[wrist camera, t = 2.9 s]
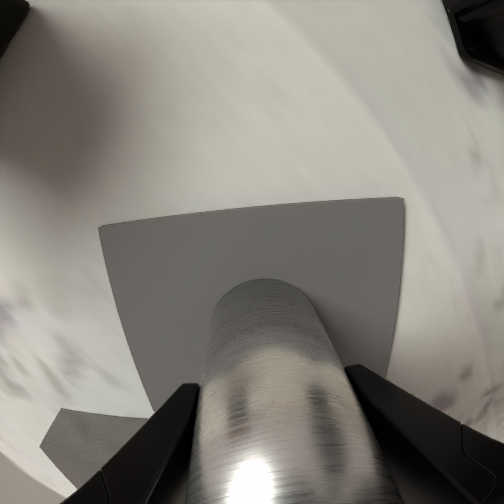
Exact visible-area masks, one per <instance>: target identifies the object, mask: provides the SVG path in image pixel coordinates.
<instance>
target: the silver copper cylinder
mask: <svg viewBox="0 0 504 504" xmlns="http://www.w3.org/2000/svg"><path fill="white" fill-rule="evenodd" d="M185 504H405V503H404V501H403V499H402V496H401V494H400V492H399V489H398V487H397V484H396V482H395V480H394V477H393V475H392V473H391V471H390V468H389V466H388V464H387V461H386V459H385V457H384V455H383V452H382V450H381V448H380V446H379V443H378V441H377V439H376V437H375V435H374V432H373V430H372V428H371V426H370V424H369V421H368V419H367V417H366V415H365V413H364V410H363V408H362V406H361V404H360V402H359V400H358V398H357V395H356V393H355V391H354V389H353V387H352V385H351V383H350V381H349V379H348V376H347V374H346V372H345V370H344V368H343V366H342V364H341V362H340V360H339V358H338V356H337V354H336V352H335V350H334V348H333V345H332V343H331V341H330V339H329V337H328V335H327V333H326V331H325V329H324V327H323V325H322V323H321V321H320V319H319V317H318V315H317V313H316V311H315V309H314V307H313V305H312V303H311V302H310V300H309V298H308V297H307V296H306V295H305V294H304V293H303V292H302V291H301V290H300V289H299V288H297V287H296V286H294V285H292V284H290V283H288V282H285V281H282V280H277V279H269V278H262V279H254V280H250V281H246V282H243V283H241V284H239V285H237V286H235V287H233V288H232V289H230V290H229V291H228V292H226V293H225V294H224V295H223V296H222V297H221V298H220V300H219V301H218V302H217V304H216V306H215V308H214V310H213V312H212V316H211V320H210V326H209V333H208V339H207V345H206V351H205V358H204V364H203V371H202V377H201V384H200V391H199V398H198V405H197V412H196V419H195V426H194V434H193V441H192V449H191V457H190V465H189V473H188V481H187V490H186V499H185Z"/></svg>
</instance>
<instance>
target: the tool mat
mask: <svg viewBox="0 0 504 504" xmlns="http://www.w3.org/2000/svg"><path fill="white" fill-rule="evenodd" d="M98 230H99V235H100V240H101V245H102V250H103V255H104V259H105V264H106V268H107V272H108V276H109V281H110V285H111V288H112V292H113V296H114V300H115V303H116V307H117V310H118V314H119V317H120V320H121V324H122V327H123V330H124V333H125V336H126V340H127V343H128V346H129V348H130V351H131V354H132V357H133V360H134V363H135V366H136V368H137V371H138V374H139V376H140V379H141V381H142V384H143V387H144V389H145V392H146V394H147V396H148V399H149V401H150V404H151V406H152V408H153V411H155V412H156V411H157V410H158V409H159V408H160V407H161V406H162V405H163V404H164V403H165V401H166V400H167V399H168V398H169V397H170V396H171V395H172V394H173V393H174V392H175V391H176V390H177V389H178V388H179V386H180V385H181V384H183V383H198V384H199V386H200V384H201V377H202V371H203V364H204V358H205V351H206V345H207V339H208V333H209V326H210V320H211V316H212V312H213V310H214V308H215V306H216V304H217V302H218V301H219V300H220V298H221V297H222V296H223V295H224V294H225V293H226V292H228V291H229V290H230V289H232V288H233V287H235V286H237V285H239V284H241V283H243V282H246V281H250V280H254V279H262V278H269V279H277V280H282V281H285V282H288V283H290V284H292V285H294V286H296V287H297V288H299V289H300V290H301V291H302V292H303V293H304V294H305V295H306V296H307V297H308V298H309V300H310V302H311V303H312V305H313V307H314V309H315V311H316V313H317V315H318V317H319V319H320V321H321V323H322V325H323V327H324V329H325V331H326V333H327V335H328V337H329V339H330V341H331V343H332V345H333V348H334V350H335V352H336V354H337V356H338V358H339V360H340V362H341V364H342V366H343V368H344V367H346V366H348V365H353V364H362V365H363V366H365V367H367V368H368V369H370V370H372V371H373V372H375V373H377V374H378V375H380V376H381V377H383V378H385V376H386V372H387V367H388V362H389V357H390V351H391V346H392V340H393V334H394V328H395V321H396V314H397V306H398V298H399V289H400V279H401V267H402V252H403V230H404V198H400V197H387V198H366V199H347V200H331V201H316V202H302V203H290V204H278V205H266V206H255V207H245V208H235V209H225V210H216V211H207V212H198V213H190V214H181V215H173V216H165V217H158V218H150V219H143V220H136V221H129V222H122V223H115V224H109V225H103V226H101V227H99V228H98Z"/></svg>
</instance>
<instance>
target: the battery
mask: <svg viewBox="0 0 504 504" xmlns="http://www.w3.org/2000/svg"><path fill="white" fill-rule="evenodd" d="M28 11H29V3H28V2H27V1H25V0H0V55H1V54H2V52H3V50H4V48H5V47H6V45H7V43H8V42H9V40H10V38H11V37H12V35H13V34H14V32H15V31H16V29H17V27H18V26H19V24H20V23H21V21H22V20H23V19H24V17H25V16H26V14H27V12H28Z"/></svg>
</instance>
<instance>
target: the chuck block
mask: <svg viewBox="0 0 504 504" xmlns="http://www.w3.org/2000/svg"><path fill="white" fill-rule="evenodd" d="M147 420H148V419H141V418H128V417H117V416H108V415H99V414H92V413H85V412H78V411H72V410H67V409H60V411H59V413H58V414H57V416H56V418H55V420H54V421H53V423H52V425H51V427H50V428H49V430H48V432H47V434H46V435H45V437H44V439H43V441H42V443H41V445H40V446H39V447H40V448H41V449H42V450H43V452H44V453H45V454H46V455H47V456H48V458H49V459H50V460H51V461H52V462H53V463H54V464H55V466H56V467H57V468H58V469H59V470H60V471H61V472H62V473H63V474H64V476H65V477H66V478H67V479H68V480H69V481H70V482H71V483H72V484H73V485H74V486H75V487H76V488H77V489H79V488H80V487H81V486H82V485H83V484H84V483H86V482H87V481H88V480H89V479H90V478H91V477H92V476H93V475H94V474H95V473H96V472H97V471H98V470H100V471H101V467H102V466H103V465H104V464H105V463H106V462H107V461H108V460H109V459H110V458H111V457H112V456H113V455H114V454H115V453H116V452H117V451H118V450H119V449H120V448H121V447H122V446H123V445H124V444H125V443H126V442H127V441H128V440H129V439H130V438H131V437H132V436H133V435H134V434H135V433H136V432H137V431H138V430H139V429H140V428H141V427H142V426H143V425H144V424H145V423H146V422H147Z"/></svg>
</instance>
